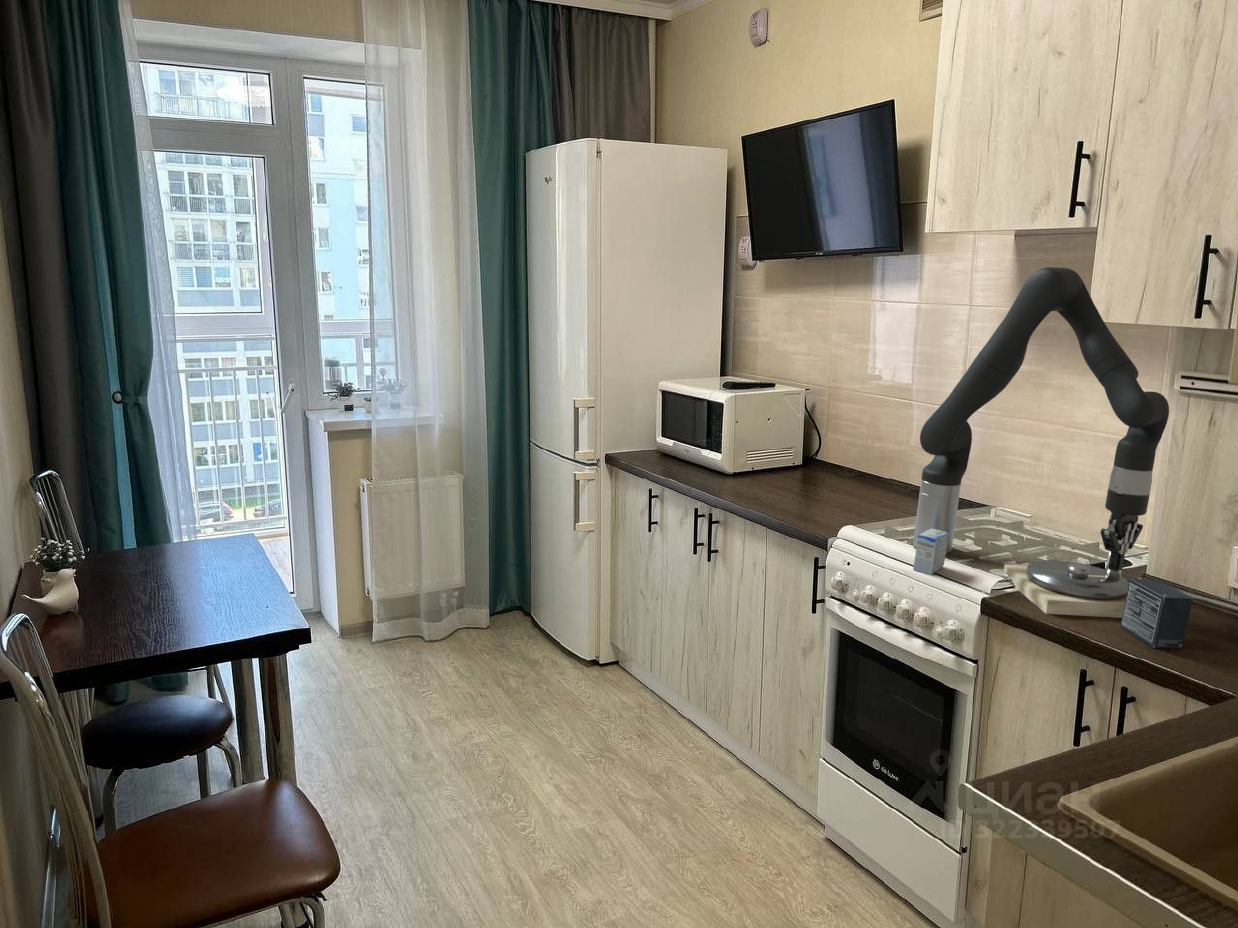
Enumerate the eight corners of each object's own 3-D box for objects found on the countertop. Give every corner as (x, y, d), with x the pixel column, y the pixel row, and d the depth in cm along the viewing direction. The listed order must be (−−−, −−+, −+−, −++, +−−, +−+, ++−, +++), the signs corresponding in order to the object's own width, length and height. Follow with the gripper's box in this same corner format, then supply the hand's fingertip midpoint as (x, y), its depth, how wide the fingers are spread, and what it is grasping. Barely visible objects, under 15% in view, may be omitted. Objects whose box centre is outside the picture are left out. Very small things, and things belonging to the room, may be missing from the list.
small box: (1185, 650, 171) (1196, 597, 169) (1153, 649, 171) (1163, 597, 168) (1149, 627, 182) (1159, 578, 179) (1118, 627, 181) (1127, 577, 179)
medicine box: (925, 562, 215) (930, 527, 213) (944, 567, 212) (949, 532, 210) (912, 570, 209) (917, 534, 207) (931, 575, 206) (936, 539, 204)
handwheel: (1051, 596, 186) (1057, 561, 184) (1011, 564, 206) (1016, 532, 204) (1148, 601, 186) (1155, 567, 185) (1099, 569, 206) (1104, 537, 204)
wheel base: (1002, 576, 207) (1004, 564, 207) (1098, 582, 207) (1100, 569, 207) (1045, 613, 186) (1048, 600, 185) (1152, 619, 186) (1155, 605, 185)
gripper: (1127, 481, 192) (1113, 560, 196) (1093, 488, 184) (1080, 569, 188) (1164, 490, 186) (1149, 570, 190) (1131, 496, 178) (1116, 580, 182)
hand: (1114, 569), depth 189 cm, fingers closed
